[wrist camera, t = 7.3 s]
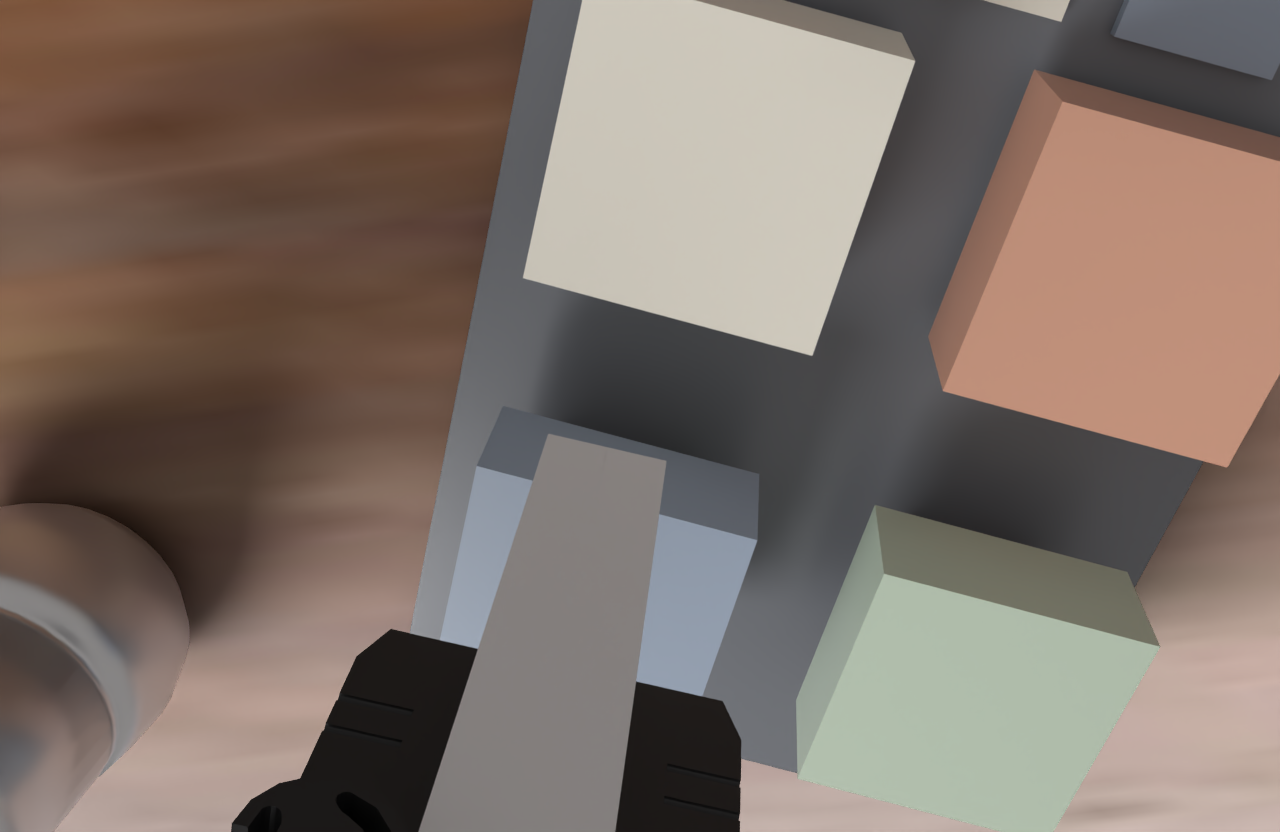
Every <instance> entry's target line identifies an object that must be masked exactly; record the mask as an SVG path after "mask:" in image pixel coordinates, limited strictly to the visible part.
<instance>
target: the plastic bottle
mask: <svg viewBox="0 0 1280 832" xmlns="http://www.w3.org/2000/svg"><path fill="white" fill-rule="evenodd" d="M189 643H190V634H189V621H188V617H187V613H186V609H185V605H184V602H183V598H182V594H181V591H180V588H179V586H178V583H177V581H176V579H175V577H174V575H173V573H172V571H171V570H170V569H169V567H168V566H167V564H166V563H165V562H164V560H163V559H162V557H161V556H160V555H159V554H158V553H157V552H156V551H155V550H154V549H153V548H152V547H151V546H150V545H149V544H148V543H147V542H146V541H145V540H144V539H143V538H141V537H140V536H139V535H137V534H136V533H135V532H133V531H132V530H131V529H129V528H128V527H126V526H124V525H123V524H121V523H119V522H117V521H115V520H114V519H112V518H110V517H108V516H105V515H103V514H100V513H97V512H95V511H92V510H90V509H86V508H82V507H77V506H73V505H68V504H52V503H24V504H16V505H9V506H3V507H0V832H54V830H55V829H56V828H57V827H58V826H59V824H60V823H61V822H62V821H63V819H64V818H65V817H66V816H67V814H68V813H69V812H70V811H71V810H72V808H73V807H74V806H75V805H76V803H77V802H78V801H79V800H80V798H81V797H82V796H83V795H84V794H85V792H86V791H87V790H88V789H89V787H90V786H91V785H92V784H93V782H94V781H95V780H96V779H97V778H98V777H99V776H101V775H102V774H103V773H104V772H105V771H106V770H107V769H108V768H109V767H110V766H112V765H113V764H114V763H115V762H116V761H117V760H118V759H119V758H120V757H121V756H122V755H123V754H124V753H126V752H127V751H128V750H129V749H130V748H131V747H132V746H133V745H134V744H135V743H136V741H137V740H138V739H139V738H140V737H141V736H142V735H143V734H144V733H145V731H146V730H147V729H148V728H149V727H150V726H151V725H152V724H153V722H154V721H155V720H156V719H157V718H158V717H159V716H160V715H161V713H162V712H163V710H164V709H165V707H166V705H167V704H168V702H169V700H170V698H171V697H172V694H173V691H174V689H175V686H176V683H177V680H178V678H179V675H180V672H181V670H182V667H183V664H184V662H185V659H186V655H187V651H188V647H189Z"/></svg>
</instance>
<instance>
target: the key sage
mask: <svg viewBox="0 0 1280 832" xmlns="http://www.w3.org/2000/svg"><path fill="white" fill-rule="evenodd" d="M1159 648H1160V645H1159V643H1158V641H1157V638H1156V636H1155V634H1154V632H1153V629H1152V627H1151V625H1150V623H1149V620H1148V618H1147V616H1146V613H1145V611H1144V609H1143V607H1142V604H1141V602H1140V600H1139V597H1138V595H1137V593H1136V591H1135V588H1134V586H1133V584H1132V582H1131V579H1130V577H1129V575H1128V572H1126V571H1122V570H1118V569H1114V568H1111V567H1107V566H1103V565H1099V564H1096V563H1092V562H1088V561H1084V560H1080V559H1077V558H1073V557H1069V556H1065V555H1062V554H1058V553H1054V552H1050V551H1047V550H1043V549H1039V548H1035V547H1032V546H1028V545H1024V544H1020V543H1017V542H1013V541H1009V540H1005V539H1002V538H998V537H994V536H990V535H987V534H983V533H979V532H975V531H971V530H968V529H964V528H960V527H956V526H953V525H949V524H945V523H941V522H938V521H934V520H930V519H926V518H923V517H919V516H915V515H911V514H908V513H904V512H900V511H896V510H893V509H889V508H885V507H881V506H878V505H875V506H874V508H873V511H872V513H871V516H870V518H869V521H868V523H867V526H866V528H865V531H864V533H863V536H862V538H861V540H860V543H859V545H858V548H857V550H856V553H855V555H854V558H853V560H852V563H851V565H850V568H849V570H848V573H847V575H846V578H845V580H844V583H843V585H842V588H841V590H840V593H839V595H838V597H837V600H836V602H835V605H834V607H833V610H832V612H831V615H830V617H829V620H828V622H827V625H826V627H825V630H824V632H823V635H822V637H821V640H820V642H819V645H818V647H817V649H816V652H815V654H814V657H813V659H812V662H811V664H810V667H809V669H808V672H807V674H806V677H805V679H804V682H803V684H802V687H801V689H800V692H799V694H798V697H797V699H796V722H797V776H798V779H800V780H804V781H808V782H812V783H816V784H820V785H824V786H827V787H831V788H835V789H839V790H843V791H847V792H850V793H854V794H858V795H862V796H866V797H870V798H874V799H877V800H881V801H885V802H889V803H893V804H897V805H900V806H904V807H908V808H912V809H916V810H920V811H924V812H927V813H931V814H935V815H939V816H943V817H947V818H950V819H954V820H958V821H962V822H966V823H970V824H974V825H977V826H981V827H985V828H989V829H993V830H997V831H1000V832H1053V831H1054V830H1055V828H1056V826H1057V825H1058V823H1059V821H1060V819H1061V818H1062V816H1063V814H1064V812H1065V811H1066V809H1067V807H1068V806H1069V804H1070V802H1071V800H1072V799H1073V797H1074V795H1075V793H1076V792H1077V790H1078V788H1079V787H1080V785H1081V783H1082V781H1083V780H1084V778H1085V776H1086V774H1087V773H1088V771H1089V769H1090V767H1091V766H1092V764H1093V762H1094V761H1095V759H1096V757H1097V755H1098V754H1099V752H1100V750H1101V748H1102V747H1103V745H1104V743H1105V742H1106V740H1107V738H1108V736H1109V735H1110V733H1111V731H1112V729H1113V728H1114V726H1115V724H1116V722H1117V721H1118V719H1119V717H1120V716H1121V714H1122V712H1123V710H1124V709H1125V707H1126V705H1127V703H1128V702H1129V700H1130V698H1131V697H1132V695H1133V693H1134V691H1135V690H1136V688H1137V686H1138V684H1139V683H1140V681H1141V679H1142V677H1143V676H1144V674H1145V672H1146V671H1147V669H1148V667H1149V665H1150V664H1151V662H1152V660H1153V658H1154V657H1155V655H1156V653H1157V652H1158V650H1159Z"/></svg>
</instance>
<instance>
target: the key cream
mask: <svg viewBox="0 0 1280 832" xmlns="http://www.w3.org/2000/svg"><path fill="white" fill-rule="evenodd" d="M914 64H915V59H914V57H913V55H912V53H911V51H910V49H909V47H908V45H907V43H906V41H905V39H904V36H903V34H902V33H901V32H897V31H893V30H890V29H886V28H882V27H879V26H875V25H872V24H868V23H864V22H861V21H857V20H853V19H850V18H846V17H843V16H839V15H835V14H832V13H828V12H824V11H821V10H817V9H814V8H810V7H806V6H803V5H799V4H795V3H792V2H788V1H785V0H582V4H581V9H580V13H579V18H578V23H577V27H576V32H575V37H574V41H573V46H572V51H571V55H570V60H569V65H568V69H567V74H566V79H565V84H564V88H563V93H562V98H561V102H560V107H559V112H558V116H557V121H556V126H555V130H554V135H553V140H552V144H551V149H550V154H549V158H548V163H547V168H546V172H545V177H544V182H543V186H542V191H541V196H540V200H539V205H538V210H537V214H536V219H535V224H534V228H533V233H532V238H531V242H530V247H529V252H528V256H527V261H526V266H525V270H524V275H523V278H524V279H528V280H532V281H536V282H539V283H543V284H547V285H550V286H554V287H558V288H562V289H565V290H569V291H573V292H576V293H580V294H584V295H588V296H591V297H595V298H599V299H603V300H606V301H610V302H614V303H617V304H621V305H625V306H629V307H632V308H636V309H640V310H643V311H647V312H651V313H655V314H658V315H662V316H666V317H669V318H673V319H677V320H681V321H684V322H688V323H692V324H696V325H699V326H703V327H707V328H710V329H714V330H718V331H722V332H725V333H729V334H733V335H736V336H740V337H744V338H748V339H751V340H755V341H759V342H762V343H766V344H770V345H774V346H777V347H781V348H785V349H789V350H792V351H796V352H800V353H803V354H807V355H811V356H812V355H813V353H814V350H815V347H816V344H817V341H818V338H819V335H820V333H821V330H822V327H823V324H824V321H825V318H826V315H827V312H828V310H829V307H830V304H831V301H832V298H833V295H834V292H835V290H836V287H837V284H838V281H839V278H840V275H841V272H842V270H843V267H844V264H845V261H846V258H847V255H848V252H849V250H850V247H851V244H852V241H853V238H854V235H855V232H856V229H857V227H858V224H859V221H860V218H861V215H862V212H863V209H864V207H865V204H866V201H867V198H868V195H869V192H870V189H871V187H872V184H873V181H874V178H875V175H876V172H877V169H878V167H879V164H880V161H881V158H882V155H883V152H884V149H885V146H886V144H887V141H888V138H889V135H890V132H891V129H892V126H893V124H894V121H895V118H896V115H897V112H898V109H899V106H900V104H901V101H902V98H903V95H904V92H905V89H906V86H907V84H908V81H909V78H910V75H911V72H912V69H913V66H914Z"/></svg>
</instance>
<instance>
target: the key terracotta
mask: <svg viewBox="0 0 1280 832" xmlns="http://www.w3.org/2000/svg"><path fill="white" fill-rule="evenodd" d="M928 338H929V342H930V345H931V349H932V353H933V356H934V360H935V364H936V368H937V371H938V375H939V379H940V383H941V386H942V390H943V391H944V392H948V393H952V394H955V395H959V396H963V397H967V398H970V399H974V400H978V401H982V402H985V403H989V404H993V405H996V406H1000V407H1004V408H1008V409H1011V410H1015V411H1019V412H1022V413H1026V414H1030V415H1034V416H1037V417H1041V418H1045V419H1048V420H1052V421H1056V422H1060V423H1063V424H1067V425H1071V426H1075V427H1078V428H1082V429H1086V430H1089V431H1093V432H1097V433H1101V434H1104V435H1108V436H1112V437H1115V438H1119V439H1123V440H1127V441H1130V442H1134V443H1138V444H1141V445H1145V446H1149V447H1153V448H1156V449H1160V450H1164V451H1168V452H1171V453H1175V454H1179V455H1182V456H1186V457H1190V458H1194V459H1197V460H1201V461H1205V462H1208V463H1212V464H1216V465H1220V466H1223V467H1228V465H1229V464H1230V462H1231V460H1232V458H1233V457H1234V455H1235V453H1236V451H1237V449H1238V448H1239V446H1240V444H1241V442H1242V440H1243V439H1244V437H1245V435H1246V433H1247V432H1248V430H1249V428H1250V426H1251V424H1252V423H1253V421H1254V419H1255V417H1256V416H1257V414H1258V412H1259V410H1260V408H1261V407H1262V405H1263V403H1264V401H1265V399H1266V398H1267V396H1268V394H1269V392H1270V391H1271V389H1272V387H1273V385H1274V383H1275V382H1276V380H1277V378H1278V376H1279V375H1280V137H1277V136H1273V135H1270V134H1266V133H1263V132H1259V131H1255V130H1252V129H1248V128H1244V127H1241V126H1237V125H1234V124H1230V123H1226V122H1223V121H1219V120H1216V119H1212V118H1208V117H1205V116H1201V115H1197V114H1194V113H1190V112H1187V111H1183V110H1179V109H1176V108H1172V107H1168V106H1165V105H1161V104H1158V103H1154V102H1150V101H1147V100H1143V99H1139V98H1136V97H1132V96H1129V95H1125V94H1121V93H1118V92H1114V91H1110V90H1107V89H1103V88H1100V87H1096V86H1092V85H1089V84H1085V83H1081V82H1078V81H1074V80H1071V79H1067V78H1063V77H1060V76H1056V75H1052V74H1049V73H1045V72H1042V71H1038V70H1034V71H1033V74H1032V76H1031V79H1030V81H1029V84H1028V86H1027V89H1026V91H1025V94H1024V96H1023V99H1022V101H1021V104H1020V107H1019V109H1018V112H1017V114H1016V117H1015V119H1014V122H1013V124H1012V127H1011V129H1010V132H1009V134H1008V137H1007V139H1006V142H1005V144H1004V147H1003V149H1002V152H1001V154H1000V157H999V159H998V162H997V164H996V167H995V169H994V172H993V174H992V177H991V180H990V182H989V185H988V187H987V190H986V192H985V195H984V197H983V200H982V202H981V205H980V207H979V210H978V212H977V215H976V217H975V220H974V222H973V225H972V227H971V230H970V232H969V235H968V237H967V240H966V242H965V245H964V247H963V250H962V253H961V255H960V258H959V260H958V263H957V265H956V268H955V270H954V273H953V275H952V278H951V280H950V283H949V285H948V288H947V290H946V293H945V295H944V298H943V300H942V303H941V305H940V308H939V310H938V313H937V315H936V318H935V320H934V323H933V325H932V328H931V331H930V333H929V336H928Z"/></svg>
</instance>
